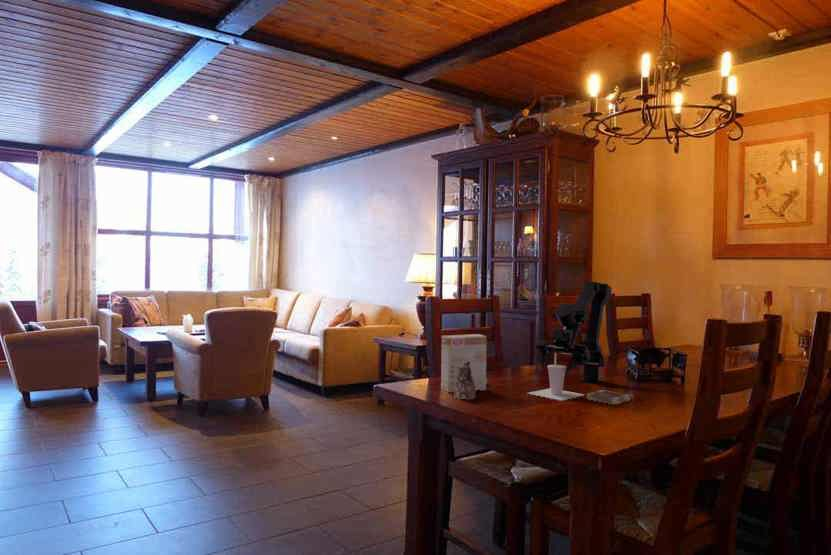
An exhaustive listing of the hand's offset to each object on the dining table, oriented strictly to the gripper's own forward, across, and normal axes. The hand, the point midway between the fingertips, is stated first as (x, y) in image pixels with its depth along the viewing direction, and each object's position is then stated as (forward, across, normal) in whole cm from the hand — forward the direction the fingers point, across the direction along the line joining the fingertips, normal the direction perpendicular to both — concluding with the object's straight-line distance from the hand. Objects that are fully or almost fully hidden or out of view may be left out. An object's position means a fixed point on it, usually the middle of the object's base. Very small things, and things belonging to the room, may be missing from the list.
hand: (554, 369), depth 204 cm
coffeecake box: (+16, -29, -3) cm, 33 cm away
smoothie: (+5, 0, +7) cm, 9 cm away
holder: (+3, +17, +10) cm, 20 cm away
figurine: (+23, -22, -10) cm, 33 cm away
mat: (+6, 0, +7) cm, 9 cm away
